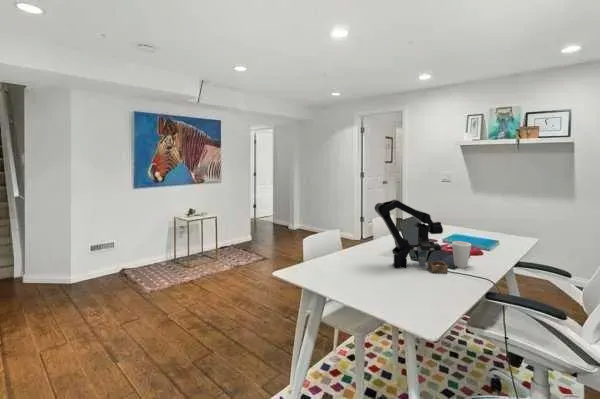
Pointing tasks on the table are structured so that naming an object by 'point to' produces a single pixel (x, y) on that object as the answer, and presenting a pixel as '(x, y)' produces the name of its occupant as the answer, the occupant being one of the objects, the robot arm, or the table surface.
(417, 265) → the lid
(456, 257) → the foam cup
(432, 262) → the walnut box
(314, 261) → the table surface
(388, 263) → the table surface
